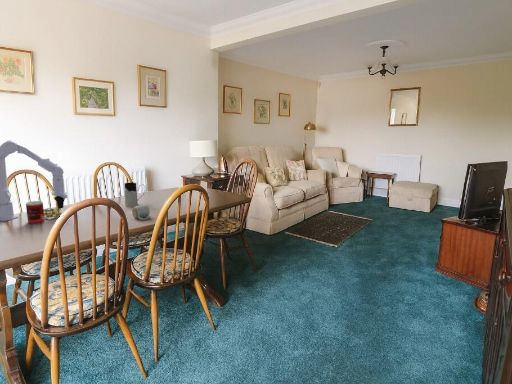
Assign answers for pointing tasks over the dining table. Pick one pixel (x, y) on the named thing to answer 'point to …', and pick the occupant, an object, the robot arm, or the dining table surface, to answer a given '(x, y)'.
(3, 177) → the robot arm
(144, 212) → the ceramic mug
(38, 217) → the canned food
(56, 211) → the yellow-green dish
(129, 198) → the glass holder
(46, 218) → the cap plate
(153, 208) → the dining table surface
